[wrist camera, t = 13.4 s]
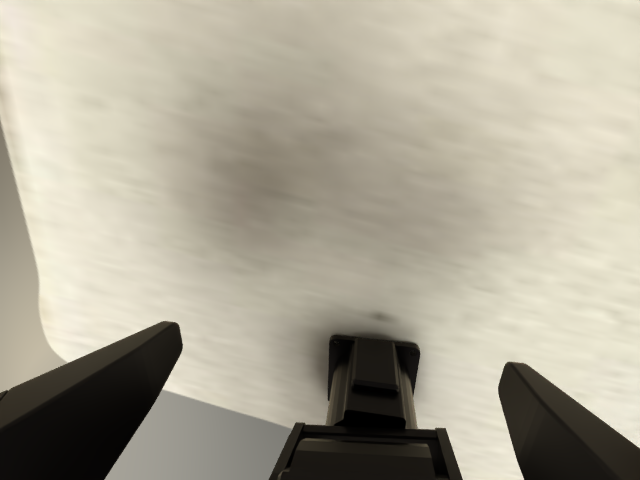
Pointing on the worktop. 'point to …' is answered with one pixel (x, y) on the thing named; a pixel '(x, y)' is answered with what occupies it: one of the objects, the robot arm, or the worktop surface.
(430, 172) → the worktop surface
